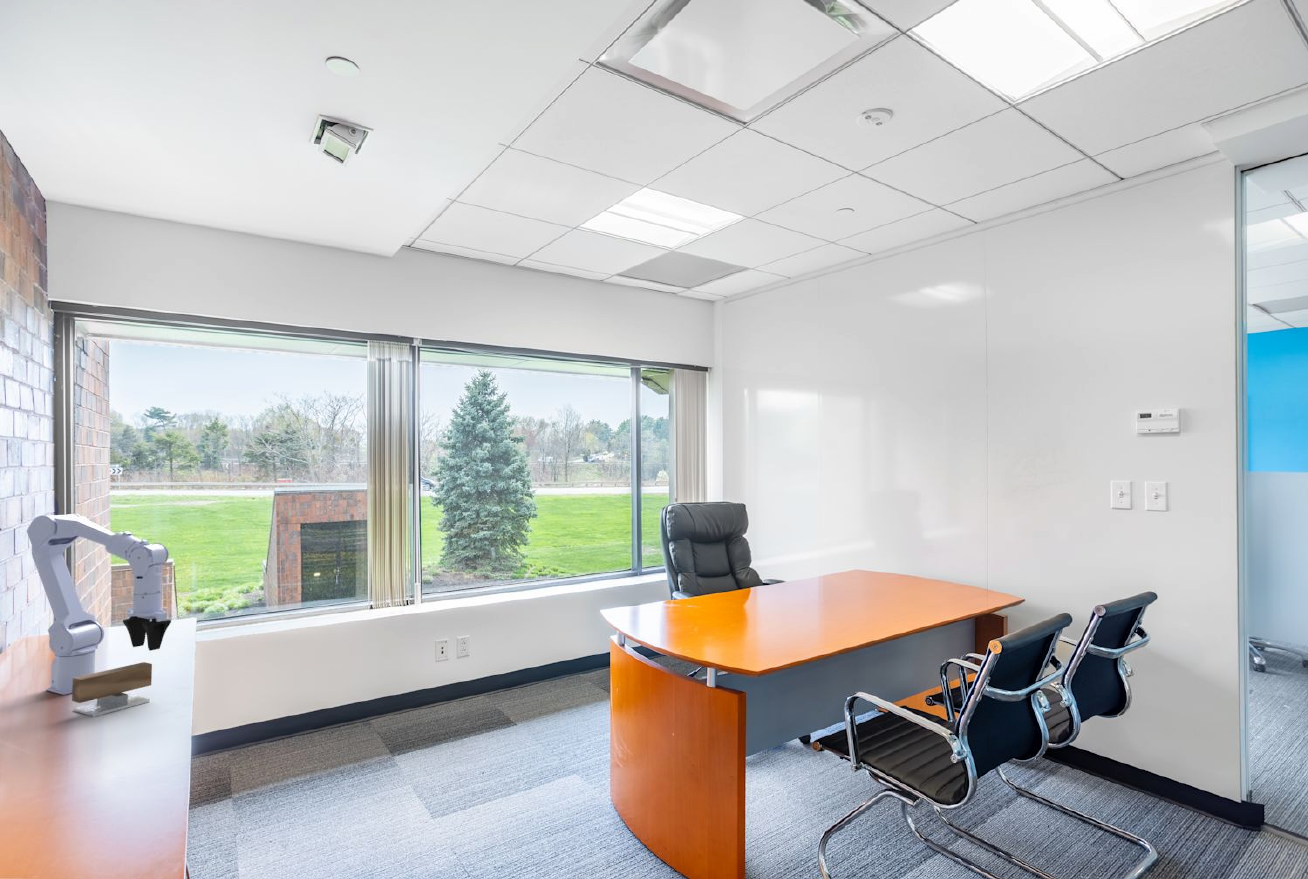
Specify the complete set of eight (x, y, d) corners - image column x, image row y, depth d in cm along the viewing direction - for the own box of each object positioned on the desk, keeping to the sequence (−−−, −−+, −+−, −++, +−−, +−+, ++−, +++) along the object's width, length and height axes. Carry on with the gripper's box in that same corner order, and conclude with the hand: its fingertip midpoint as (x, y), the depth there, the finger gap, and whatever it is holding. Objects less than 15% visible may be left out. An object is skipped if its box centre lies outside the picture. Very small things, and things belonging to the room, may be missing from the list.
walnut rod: (71, 700, 149) (72, 677, 150) (143, 683, 162) (143, 662, 162) (79, 703, 148) (80, 680, 148) (151, 685, 160) (151, 663, 160)
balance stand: (73, 710, 152) (73, 697, 152) (129, 696, 161) (129, 683, 162) (93, 716, 148) (93, 702, 148) (149, 701, 157) (150, 688, 158)
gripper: (114, 593, 169) (112, 648, 168) (145, 597, 162) (143, 655, 161) (146, 589, 175) (144, 642, 174) (177, 593, 168) (175, 648, 168)
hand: (146, 647), depth 168 cm, fingers open, 7 cm apart
